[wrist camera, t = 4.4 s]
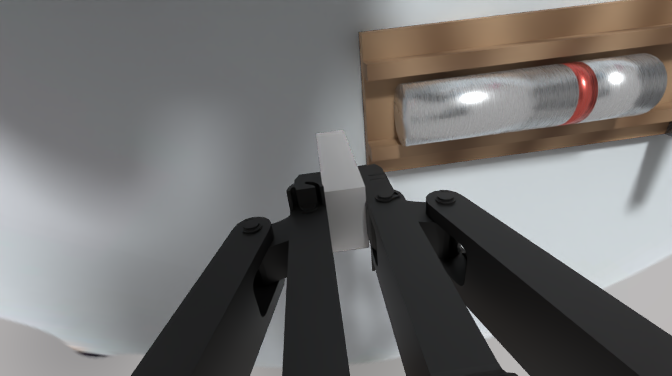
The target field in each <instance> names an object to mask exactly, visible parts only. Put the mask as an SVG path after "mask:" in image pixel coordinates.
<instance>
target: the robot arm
mask: <svg viewBox="0 0 672 376" xmlns="http://www.w3.org/2000/svg"><path fill="white" fill-rule="evenodd" d="M316 140H317V148H318V155H319V163H320V171H321V172H316V173H309V174H302V175H299V176H298V177H297V178H296V179H295V183H294V184H292V185H291V186H290V187H288V189H287V191H286V192H287V197H288V202H289V207H290V216H288V217H287V218H286V219H284V220H282V221H279V222H277V223H274V224H271V222H270V220H269V219H267V218H264V217H252V218H249V219H245V220H244V221H242V222H240V223H238V224H237V225H236V226H235V227H234V229H233V230H232V231H231V233H230V234H229V236H228V237H227V239H226V240H225V241H224V243H223V244H222V246H221V247H220V249H219V250H218V251H217V253H216V254H215V256H214V257H213V259H212V260H211V261H210V263H209V264H208V266H207V267H206V269H205V270H204V272H203V273H202V274H201V276H200V277H199V279H198V280H197V282H196V283H195V284H194V286H193V287H192V289H191V290H190V292H189V293H188V294H187V296H186V297H185V299H184V300H183V302H182V303H181V304H180V306H179V307H178V309H177V310H176V312H175V313H174V314H173V316H172V317H171V319H170V320H169V322H168V323H167V325H166V326H165V327H164V329H163V330H162V332H161V333H160V335H159V336H158V337H157V339H156V340H155V342H154V343H153V345H152V346H151V347H150V349H149V350H148V352H147V353H146V355H145V356H144V357H143V359H142V361H141V362H140V363H139V365H138V366H137V368H136V369H135V370H134V372H133V373H132V375H131V376H250V374H251V371H252V369H253V366H254V363H255V361H256V358H257V355H258V353H259V350H260V347H261V345H262V342H263V339H264V337H265V334H266V331H267V329H268V326H269V323H270V321H271V318H272V315H273V313H274V310H275V307H276V305H277V302H278V299H279V297H280V294H281V291H282V289H283V286H284V281H285V279H284V278H286V277H287V290H286V311H285V331H284V351H283V372H282V376H350V373H349V365H348V358H347V351H346V344H345V336H344V329H343V322H342V315H341V308H340V301H339V293H338V286H337V279H336V272H335V265H334V258H333V253H334V252H341V251H348V250H355V249H362V248H368V247H369V241H370V244H371V258H372V271H375V270H376V273H377V277H378V280H379V284H380V287H381V291H382V294H383V298H384V301H385V304H386V308H387V311H388V315H389V318H390V322H391V325H392V328H393V332H394V335H395V339H396V342H397V346H398V349H399V353H400V356H401V359H402V363H403V366H404V370H405V373H406V376H518V375H517V374H515V373H507V372H505V371H504V370H503V369H502V368H501V367H500V365H499V363H498V362H497V360H496V359H495V356H494V355H493V353H492V351H491V349H490V348H489V346H488V344H487V342H486V341H485V339H484V337H483V335H482V334H481V332H480V330H479V328H478V326H477V325H476V323H475V321H474V319H473V318H472V316H471V314H470V312H469V311H468V309H467V307H468V308H469V310H470V311H471V312H472V313H473V314H474V315H475V316H476V317H477V318H478V319H479V320H480V322H481V323H482V324H483V325H484V326H485V327H486V328H487V329H488V330H489V331H490V333H491V334H492V335H493V336H494V337H495V338H496V339H497V340H498V341H499V342H500V343H501V345H502V346H503V347H504V348H505V349H506V350H507V351H508V352H509V353H510V354H511V355H512V356H513V358H514V359H515V360H516V361H517V362H518V363H519V364H520V365H521V366H522V368H523V369H525V371H526V372H527V373H528V374H529V375H530V376H672V336H671V335H670V334H668V333H667V332H665V331H663V330H662V329H661V328H659V327H658V326H656V325H655V324H653V323H652V322H650V321H649V320H647V319H646V318H644V317H643V316H641V315H640V314H638V313H637V312H635V311H634V310H632V309H631V308H629V307H628V306H626V305H625V304H623V303H622V302H620V301H619V300H617V299H616V298H614V297H613V296H611V295H610V294H608V293H607V292H605V291H604V290H602V289H601V288H599V287H598V286H597V285H595V284H594V283H592V282H591V281H589V280H588V279H586V278H585V277H583V276H582V275H580V274H579V273H577V272H576V271H574V270H573V269H571V268H570V267H568V266H567V265H565V264H564V263H562V262H561V261H559V260H558V259H556V258H555V257H553V256H552V255H550V254H549V253H547V252H546V251H544V250H543V249H541V248H540V247H538V246H537V245H535V244H534V243H532V242H531V241H529V240H528V239H526V238H525V237H523V236H522V235H520V234H519V233H517V232H516V231H514V230H513V229H511V228H510V227H509V226H507V225H506V224H504V223H503V222H501V221H500V220H498V219H497V218H495V217H494V216H492V215H491V214H489V213H488V212H486V211H485V210H483V209H482V208H480V207H479V206H477V205H476V204H474V203H473V202H471V201H470V200H468V199H467V198H465V197H464V196H462V195H461V194H458V193H456V192H453V191H449V190H440V191H434V192H432V193H429V194H428V195H427V197H426V202H413V201H407V200H405V198H404V196H403V195H402V194H401V193H400V192H399V191H396V190H393V188H392V186H391V184H390V182H389V180H388V178H387V176H386V175H385V173H384V171H383V169H382V168H381V167H380V166H378V165H376V164H370V165H362V166H357V164H356V161H355V159H354V156H353V153H352V151H351V148H350V145H349V143H348V140H347V137H346V135H345V132H344V130H338V131H330V132H323V133H316ZM461 245H462V246H463V248H464V249H465V250H464V249H463V248H462V247H461ZM466 306H467V307H466Z"/></svg>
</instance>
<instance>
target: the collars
mask: <svg viewBox="0 0 672 376" xmlns="http://www.w3.org/2000/svg"><path fill="white" fill-rule="evenodd" d="M665 134H667V135H670V136H672V121H670V123H669V125H668V127H667V130H666V132H665Z"/></svg>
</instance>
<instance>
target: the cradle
mask: <svg viewBox="0 0 672 376" xmlns="http://www.w3.org/2000/svg"><path fill="white" fill-rule="evenodd" d="M359 43H360V60H361V76H362V93H363V109H364V126H365V142H366V159H367V165H370V164H376V165H378V166H380V167H381V168H382V169H383V171H384V172H389V171H396V170H404V169H411V168H418V167H426V166H433V165H440V164H447V163H455V162H462V161H469V160H477V159H484V158H491V157H499V156H506V155H513V154H521V153H528V152H535V151H542V150H550V149H557V148H564V147H572V146H579V145H586V144H594V143H601V142H608V141H616V140H623V139H630V138H637V137H645V136H652V135H659V134H665V132H666V130H667V127H668V125H669V123H670V121H672V0H622V1H614V2H606V3H597V4H589V5H581V6H572V7H564V8H556V9H547V10H539V11H531V12H522V13H514V14H506V15H497V16H489V17H481V18H473V19H464V20H456V21H448V22H439V23H431V24H423V25H414V26H406V27H398V28H389V29H381V30H373V31H364V32H359ZM640 53H647V54H651V55H654V56H655V57H657V58H658V59H659V60H660V61H661V62H662V63H663V65H664V66H665V69H666V72H667V86H666V90H665V93H664V95H663V97H662V98H661V100H660V101H659V103H658V104H657V105H656V106H655V107H654V108H652V109H651V110H650V111H648V112H646V113H644V114H641V115H635V116H628V117H620V118H613V119H606V120H598V121H591V122H583V123H576V124H568V125H561V126H553V127H546V128H538V129H531V130H524V131H516V132H509V133H501V134H494V135H486V136H479V137H471V138H464V139H456V140H449V141H442V142H434V143H427V144H419V145H412V146H403V145H402V144H401V143H400V141H399V138H398V135H397V131H396V126H395V119H394V95H395V90H396V87H397V85H398V84H403V83H411V82H419V81H427V80H435V79H443V78H450V77H458V76H466V75H474V74H482V73H490V72H498V71H506V70H514V69H521V68H529V67H537V66H545V65H553V64H561V63H569V62H577V61H585V60H592V59H600V58H608V57H616V56H624V55H632V54H640Z"/></svg>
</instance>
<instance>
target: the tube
mask: <svg viewBox="0 0 672 376" xmlns="http://www.w3.org/2000/svg"><path fill="white" fill-rule="evenodd" d="M666 86H667V72H666V69H665V66H664V65H663V63H662V62H661V61H660V60H659V59H658V58H657V57H655V56H654V55H651V54H647V53H640V54H632V55H624V56H616V57H608V58H600V59H592V60H585V61H577V62H569V63H561V64H553V65H545V66H537V67H529V68H521V69H514V70H506V71H498V72H490V73H482V74H474V75H466V76H458V77H450V78H443V79H435V80H427V81H419V82H411V83H403V84H398V85H397V87H396V90H395V95H394V119H395V126H396V131H397V135H398V138H399V141H400V143H401V144H402V145H403V146H412V145H419V144H427V143H434V142H442V141H449V140H456V139H464V138H471V137H479V136H486V135H494V134H501V133H509V132H516V131H524V130H531V129H538V128H546V127H553V126H561V125H568V124H576V123H583V122H591V121H598V120H606V119H613V118H620V117H628V116H635V115H641V114H644V113H646V112H648V111H650V110H651V109H652V108H654V107H655V106H656V105H657V104H658V103H659V101H660V100H661V98H662V97H663V95H664V93H665V90H666Z"/></svg>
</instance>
